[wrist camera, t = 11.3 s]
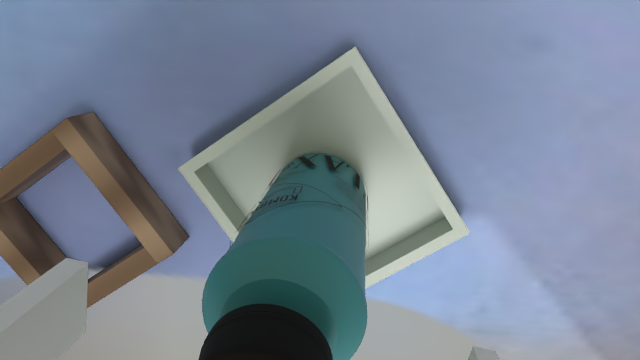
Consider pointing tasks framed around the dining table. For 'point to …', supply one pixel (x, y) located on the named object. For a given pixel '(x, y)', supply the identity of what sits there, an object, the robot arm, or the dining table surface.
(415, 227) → the tray
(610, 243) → the dining table surface
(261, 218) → the beverage bottle
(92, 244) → the dining table surface
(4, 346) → the robot arm
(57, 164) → the socket block
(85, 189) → the dining table surface
